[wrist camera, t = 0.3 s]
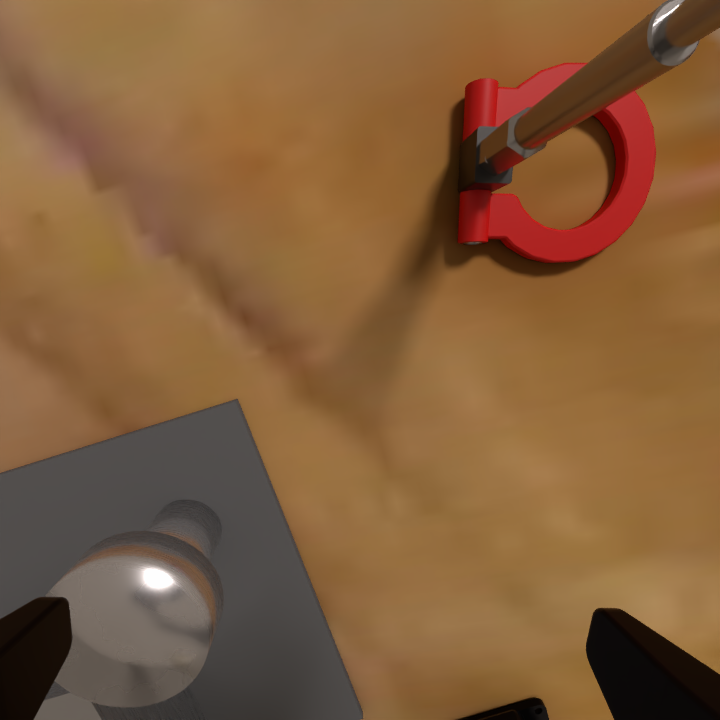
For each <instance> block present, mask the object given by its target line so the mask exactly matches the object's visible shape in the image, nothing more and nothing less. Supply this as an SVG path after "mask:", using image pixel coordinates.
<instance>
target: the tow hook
mask: <svg viewBox="0 0 720 720" xmlns="http://www.w3.org/2000/svg"><path fill="white" fill-rule="evenodd" d="M718 28H720V0H668V1H666V2H664V3H663V4H662V5H661V6H659V7H658V8H657V9H656V10H654V11H653V12H652V13H650V14H649V15H648V16H647V17H645V18H644V19H643V20H642V21H640V22H639V23H638V24H637V25H635V26H634V27H633V28H632V29H630V30H629V31H628V32H626V33H625V34H624V35H623V36H621V37H620V38H619V39H618V40H616V41H615V42H614V43H613V44H611V45H610V46H609V47H608V48H606V49H605V50H604V51H602V52H601V53H600V54H599V55H597V56H596V57H595V58H594V59H592V60H591V61H590V62H589V63H563V64H560V65H557V66H554V67H551V68H548V69H544V70H541V71H540V72H538V73H537V74H535V75H534V76H532V77H531V78H529V79H528V80H526V81H525V82H523V83H522V84H520V85H519V86H518V87H517V88H507V87H498V81H496V80H494V79H489V78H487V79H478V80H475V81H472V82H470V83H469V84H468V85H467V86H466V87H465V105H464V125H463V142H462V143H461V145H460V161H459V181H458V192H459V193H460V205H459V225H458V243H460V244H466V245H475V244H482V243H486V242H488V239H500V240H501V241H502V242H503V244H504V245H505V246H506V247H507V248H509V249H511V250H512V251H514V252H516V253H518V254H519V255H521V256H523V257H524V258H527V259H531V260H535V261H539V262H543V263H555V262H574V261H577V260H580V259H583V258H586V257H589V256H592V255H595V254H597V253H599V252H600V251H602V250H603V249H605V248H606V247H608V246H609V245H611V244H612V243H614V242H615V241H616V240H617V239H618V238H619V237H620V236H621V235H622V234H623V233H624V232H625V231H626V230H627V229H628V228H629V227H630V226H631V225H632V223H633V222H634V220H635V218H636V217H637V215H638V213H639V212H640V210H641V208H642V207H643V205H644V203H645V201H646V198H647V195H648V192H649V189H650V186H651V183H652V180H653V176H654V167H655V158H656V148H655V139H654V130H653V126H652V123H651V120H650V118H649V115H648V112H647V110H646V107H645V104H644V103H643V101H642V100H641V99H640V97H639V96H638V95H637V93H636V92H635V90H637V89H639V88H640V87H642V86H644V85H645V84H647V83H649V82H651V81H652V80H654V79H656V78H657V77H659V76H661V75H662V74H664V73H666V72H668V71H669V70H671V69H673V68H674V67H676V66H678V65H680V64H681V63H683V62H684V61H686V60H687V59H688V58H689V57H690V56H691V55H692V54H693V52H694V51H695V49H696V47H697V45H698V43H699V40H700V39H702V38H704V37H705V36H707V35H709V34H710V33H712V32H713V31H715V30H717V29H718ZM592 115H593V116H594V117H596V118H597V119H599V121H600V122H601V123H602V124H603V126H604V127H605V128H606V130H607V131H608V133H609V135H610V138H611V140H612V143H613V145H614V151H615V158H616V168H615V178H614V181H613V184H612V187H611V191H610V193H609V195H608V197H607V199H606V200H605V202H604V204H603V205H602V207H601V208H600V209H599V210H598V211H597V212H596V213H595V215H594V216H593V217H592V218H591V219H589V220H588V221H586V222H585V223H583V224H581V225H580V226H578V227H575V228H572V229H569V230H556V229H552V228H548V227H545V226H543V225H541V224H540V223H538V222H537V221H535V220H533V219H532V218H531V217H530V216H529V214H528V213H527V212H526V211H525V210H524V209H523V207H522V205H521V203H520V201H519V199H518V197H517V196H515V195H513V194H491V192H493V191H495V190H497V189H499V188H501V187H503V186H505V185H507V184H509V183H511V181H512V170H513V166H514V165H516V164H518V163H520V162H522V161H523V160H525V159H527V158H528V157H530V156H532V155H533V154H535V153H537V152H538V151H540V150H542V149H543V148H545V146H546V144H547V142H548V141H550V140H551V139H553V138H555V137H557V136H558V135H560V134H562V133H563V132H565V131H567V130H568V129H570V128H572V127H574V126H575V125H577V124H579V123H580V122H582V121H584V120H586V119H587V118H589V117H591V116H592Z"/></svg>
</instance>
